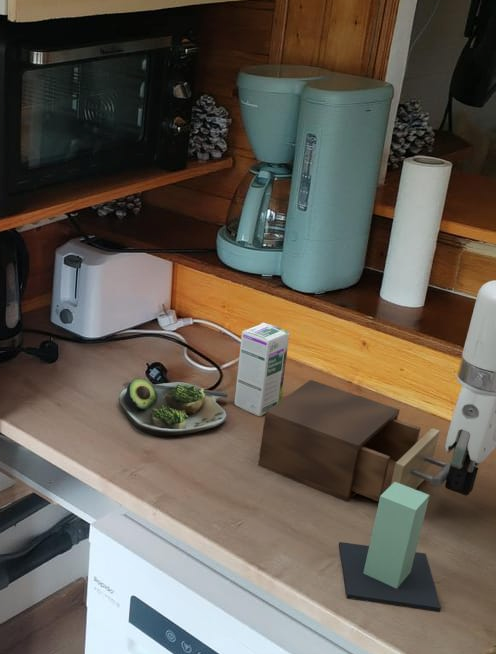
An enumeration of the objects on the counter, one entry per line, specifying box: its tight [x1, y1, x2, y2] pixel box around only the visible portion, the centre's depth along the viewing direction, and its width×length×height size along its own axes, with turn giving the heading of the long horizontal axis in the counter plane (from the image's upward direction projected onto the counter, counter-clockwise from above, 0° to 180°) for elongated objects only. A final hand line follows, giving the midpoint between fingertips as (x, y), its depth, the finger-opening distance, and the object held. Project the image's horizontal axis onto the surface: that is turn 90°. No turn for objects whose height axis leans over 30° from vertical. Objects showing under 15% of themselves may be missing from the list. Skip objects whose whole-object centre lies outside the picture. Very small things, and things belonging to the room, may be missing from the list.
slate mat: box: [338, 541, 442, 612], centre depth 117 cm, size 11×11×1 cm
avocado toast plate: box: [118, 378, 229, 437], centre depth 155 cm, size 19×18×5 cm
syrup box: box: [233, 322, 291, 417], centre depth 155 cm, size 6×6×14 cm
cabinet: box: [257, 379, 400, 503], centre depth 139 cm, size 15×15×10 cm
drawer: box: [351, 418, 451, 503], centre depth 134 cm, size 18×13×8 cm
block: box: [364, 482, 430, 589], centre depth 114 cm, size 4×4×12 cm
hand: (458, 489), depth 127 cm, fingers closed
